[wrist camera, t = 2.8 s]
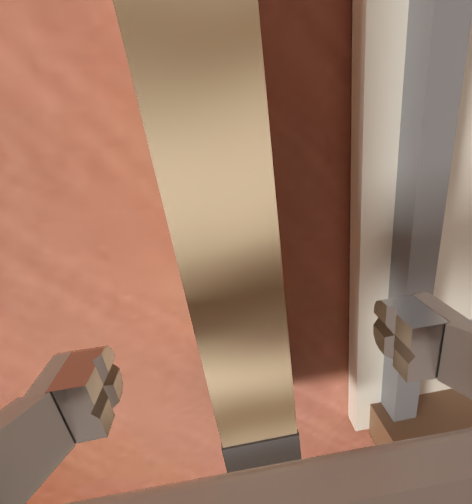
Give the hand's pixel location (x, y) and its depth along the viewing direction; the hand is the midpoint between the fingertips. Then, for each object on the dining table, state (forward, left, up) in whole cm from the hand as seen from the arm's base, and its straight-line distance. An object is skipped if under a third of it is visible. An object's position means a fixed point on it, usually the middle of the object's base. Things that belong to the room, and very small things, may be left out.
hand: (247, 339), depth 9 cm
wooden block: (-1, 0, -8) cm, 8 cm away
